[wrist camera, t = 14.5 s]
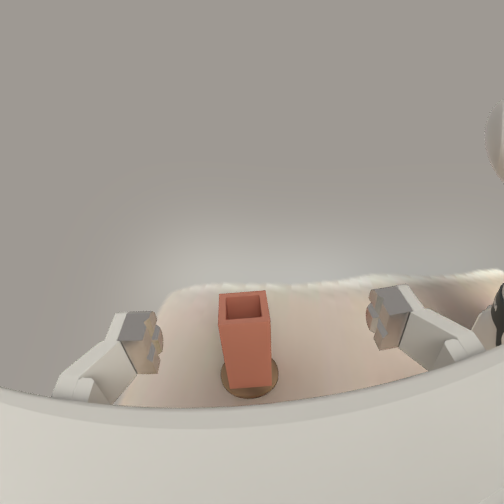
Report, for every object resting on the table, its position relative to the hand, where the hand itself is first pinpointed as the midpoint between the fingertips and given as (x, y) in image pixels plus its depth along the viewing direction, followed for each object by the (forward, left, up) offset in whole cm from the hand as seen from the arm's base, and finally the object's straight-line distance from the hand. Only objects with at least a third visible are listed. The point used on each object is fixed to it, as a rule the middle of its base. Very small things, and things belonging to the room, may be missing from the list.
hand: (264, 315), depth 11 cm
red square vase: (-7, -17, -27) cm, 33 cm away
